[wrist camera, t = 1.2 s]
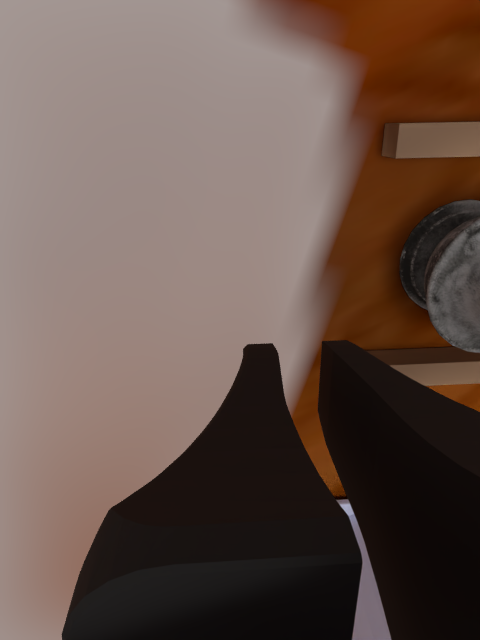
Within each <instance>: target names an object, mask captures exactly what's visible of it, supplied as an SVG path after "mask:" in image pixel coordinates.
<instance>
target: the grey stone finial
mask: <svg viewBox="0 0 480 640" xmlns="http://www.w3.org/2000/svg"><path fill="white" fill-rule="evenodd" d="M400 278H401V282H402V285H403V288H404V290H405V291H406V293H407V294H408V296H409V298H410V299H412V300H413V301H414V302H415V303H416V304H418V305H419V306H420V307H422V308H424V309H426V310H428V313H429V317H430V321H431V322H432V324H433V326H434V327H435V329H436V330H437V332H438V334H439V335H440V336H442V337H443V338H444V339H445V340H446V341H448V342H449V343H450V344H451V345H452V346H455V347H457V348H460V349H462V350H465V351H467V352H475V353H480V201H477V200H471V199H470V200H462V201H454V202H452V203H449V204H447V205H444V206H442V207H439V208H437V209H436V210H435V211H433V212H432V213H430V214H429V215H427V216H426V217H424V219H423V220H422V221H421V222H420V223H419V224H418V225H417V226H416V227H415V228H414V229H413V231H412V232H411V234H410V236H409V237H408V239H407V241H406V243H405V244H404V248H403V251H402V254H401V258H400Z"/></svg>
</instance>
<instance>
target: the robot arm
mask: <svg viewBox="0 0 480 640" xmlns="http://www.w3.org/2000/svg"><path fill="white" fill-rule="evenodd" d="M318 413H319V418H320V422H321V426H322V430H323V434H324V438H325V442H326V445H327V448H328V450H329V453H330V455H331V458H332V460H333V463H334V465H335V468H336V470H337V473H338V475H339V478H340V480H341V483H342V485H343V488H344V490H345V493H346V495H347V498H348V499H343V500H336V499H335V498H334V496H333V495H332V493H331V492H330V490H329V489H328V487H327V486H326V484H325V483H324V481H323V480H322V478H321V477H320V475H319V474H318V472H317V470H316V468H315V466H314V464H313V463H312V461H311V459H310V457H309V455H308V453H307V451H306V450H305V448H304V445H303V443H302V441H301V439H300V437H299V434H298V432H297V430H296V428H295V425H294V423H293V420H292V418H291V415H290V413H289V410H288V407H287V405H286V401H285V397H284V391H283V384H282V377H281V369H280V362H279V356H278V352H277V350H276V348H275V347H274V345H273V344H271V343H270V344H248V345H247V346H246V347H245V348H244V349H243V359H242V363H241V366H240V369H239V371H238V374H237V376H236V378H235V381H234V383H233V385H232V387H231V389H230V391H229V393H228V394H227V396H226V398H225V400H224V401H223V403H222V405H221V407H220V408H219V410H218V411H217V413H216V414H215V416H214V417H213V418H212V420H211V421H210V423H209V424H208V425H207V427H206V428H205V429H204V430H203V431H202V433H201V434H200V435H199V436H198V437H197V438H196V440H195V441H194V442H193V443H192V444H191V445H190V446H189V447H188V448H187V450H186V451H185V452H184V453H183V454H182V455H181V456H180V457H178V458H177V459H176V460H175V461H174V462H173V463H172V464H171V465H169V466H168V467H167V468H166V469H165V470H164V471H163V472H162V473H160V474H159V475H158V476H157V477H156V478H154V479H153V480H152V481H151V482H149V483H148V484H146V485H145V486H143V487H142V488H140V489H139V490H138V491H136V492H134V493H133V494H132V495H130V496H129V497H127V498H126V499H124V500H123V501H121V502H120V503H118V504H117V505H115V506H113V507H112V508H111V509H110V510H109V511H108V513H107V515H106V517H105V518H104V520H103V522H102V524H101V526H100V528H99V531H98V532H97V534H96V537H95V539H94V541H93V543H92V545H91V548H90V550H89V552H88V554H87V557H86V559H85V561H84V564H83V566H82V569H81V571H80V574H79V577H78V580H77V583H76V586H75V590H74V593H73V597H72V600H71V604H70V607H69V611H68V614H67V618H66V621H65V625H64V628H63V632H62V640H480V412H478V411H476V410H474V409H472V408H469V407H467V406H465V405H462V404H460V403H458V402H455V401H453V400H451V399H449V398H447V397H445V396H443V395H441V394H439V393H437V392H435V391H433V390H431V389H430V388H428V387H426V386H424V385H422V384H420V383H418V382H416V381H415V380H413V379H411V378H409V377H408V376H406V375H404V374H402V373H401V372H399V371H397V370H396V369H394V368H392V367H391V366H389V365H388V364H386V363H384V362H383V361H381V360H379V359H378V358H376V357H375V356H373V355H371V354H370V353H368V352H367V351H365V350H363V349H362V348H360V347H358V346H357V345H355V344H353V343H351V342H349V341H347V340H341V341H322V352H321V367H320V383H319V398H318Z"/></svg>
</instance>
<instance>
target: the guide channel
mask: <svg viewBox="0 0 480 640" xmlns="http://www.w3.org/2000/svg"><path fill="white" fill-rule="evenodd" d="M382 156H386V157H391V158H433V157H474V156H480V121H478V122H429V123H385V129H384V138H383V148H382ZM367 352H368V353H370V354H371V355H373V356H375V357H376V358H378V359H379V360H381V361H383V362H384V363H386V364H388V365H389V366H391V367H392V368H394V369H396V370H397V371H399V372H401V373H402V374H404V375H406V376H408V377H409V378H411V379H413V380H415V381H416V382H418V383H420V384H422V385H424V386H431V385H452V384H473V383H480V353H475V352H467V351H465V350H462V349H460V348H457V347H440V348H417V349H394V350H370V351H367Z"/></svg>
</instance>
